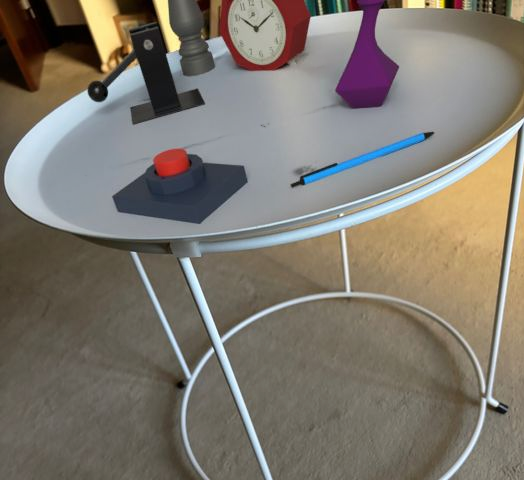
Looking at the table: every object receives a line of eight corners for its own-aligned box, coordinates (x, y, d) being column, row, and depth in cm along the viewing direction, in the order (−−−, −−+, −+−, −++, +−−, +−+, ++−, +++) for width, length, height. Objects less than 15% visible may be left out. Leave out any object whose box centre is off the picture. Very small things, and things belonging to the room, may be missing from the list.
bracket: (134, 130, 94) (105, 45, 86) (132, 114, 101) (104, 33, 93) (206, 110, 95) (184, 23, 87) (199, 95, 102) (178, 13, 93)
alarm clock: (228, 77, 106) (199, -54, 93) (254, 60, 111) (229, -66, 98) (299, 76, 98) (278, -68, 86) (323, 58, 103) (306, -80, 91)
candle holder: (178, 82, 110) (133, -79, 94) (193, 71, 114) (152, -86, 98) (207, 80, 107) (166, -87, 91) (221, 68, 112) (184, -94, 96)
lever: (98, 109, 94) (82, 93, 92) (98, 103, 96) (83, 88, 94) (161, 45, 90) (146, 27, 88) (160, 41, 93) (145, 23, 91)
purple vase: (400, 89, 84) (393, -60, 73) (391, 110, 79) (382, -47, 68) (349, 94, 87) (334, -49, 76) (337, 114, 82) (320, -36, 71)
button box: (117, 212, 72) (105, 182, 70) (168, 175, 78) (158, 145, 76) (199, 224, 66) (189, 191, 63) (248, 182, 71) (240, 150, 69)
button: (150, 176, 69) (145, 162, 68) (171, 161, 72) (167, 147, 71) (176, 179, 67) (171, 164, 66) (196, 163, 70) (192, 149, 69)
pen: (290, 187, 68) (288, 178, 67) (433, 134, 71) (432, 125, 70) (293, 190, 67) (291, 181, 67) (437, 136, 70) (437, 127, 70)
